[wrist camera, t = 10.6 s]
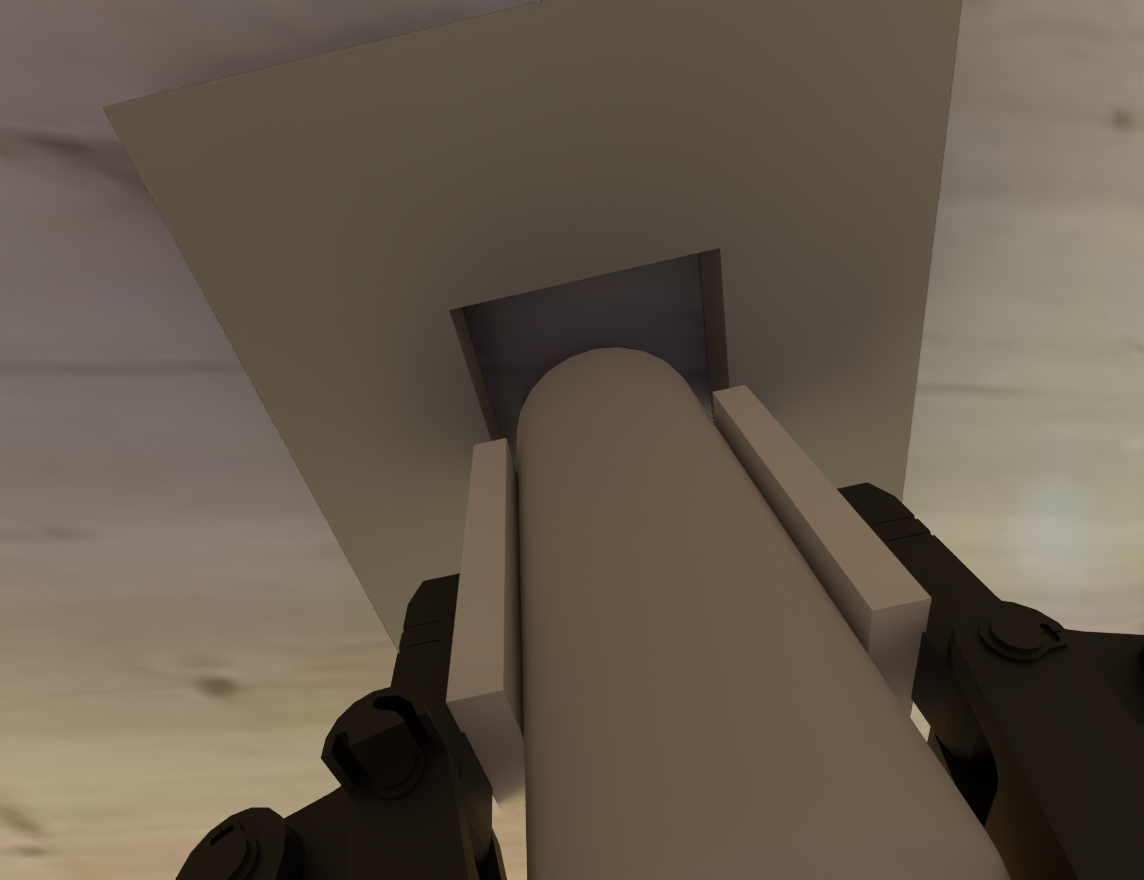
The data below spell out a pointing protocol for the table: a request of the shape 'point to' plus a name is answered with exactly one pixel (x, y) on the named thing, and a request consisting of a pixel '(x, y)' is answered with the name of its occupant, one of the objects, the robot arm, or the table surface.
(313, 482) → the flat rectangular frame
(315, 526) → the table surface
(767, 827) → the beverage can
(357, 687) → the table surface
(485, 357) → the table surface
